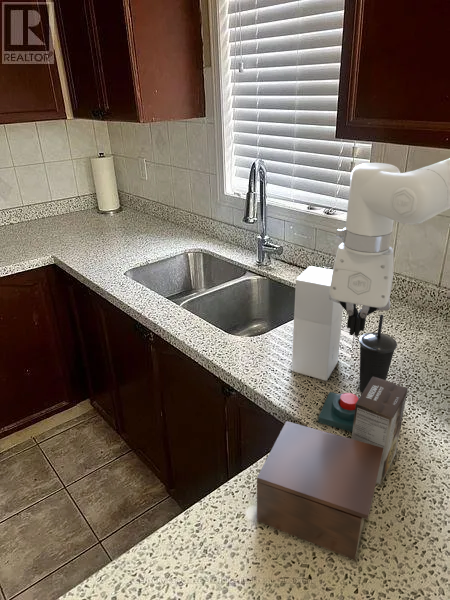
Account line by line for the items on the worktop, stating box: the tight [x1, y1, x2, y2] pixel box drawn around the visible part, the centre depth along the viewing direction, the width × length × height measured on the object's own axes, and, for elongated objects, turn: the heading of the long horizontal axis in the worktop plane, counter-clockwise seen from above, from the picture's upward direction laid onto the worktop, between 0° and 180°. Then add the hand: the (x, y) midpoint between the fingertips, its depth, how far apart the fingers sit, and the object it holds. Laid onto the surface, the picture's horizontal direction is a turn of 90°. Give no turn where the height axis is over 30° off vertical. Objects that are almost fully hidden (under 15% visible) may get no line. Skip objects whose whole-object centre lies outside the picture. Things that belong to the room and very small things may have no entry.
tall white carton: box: [291, 265, 344, 382], centre depth 104 cm, size 9×9×25 cm
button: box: [340, 392, 359, 410], centre depth 92 cm, size 4×4×2 cm
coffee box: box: [351, 377, 409, 485], centre depth 79 cm, size 9×6×16 cm
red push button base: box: [317, 391, 360, 433], centre depth 93 cm, size 10×9×4 cm
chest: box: [256, 481, 366, 561], centre depth 72 cm, size 16×14×10 cm
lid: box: [256, 420, 384, 520], centre depth 70 cm, size 16×14×1 cm
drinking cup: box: [358, 314, 398, 394], centre depth 96 cm, size 8×8×20 cm
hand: (355, 332), depth 84 cm, fingers closed
